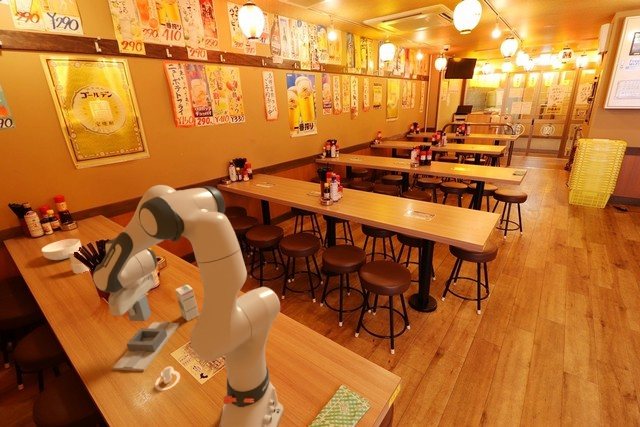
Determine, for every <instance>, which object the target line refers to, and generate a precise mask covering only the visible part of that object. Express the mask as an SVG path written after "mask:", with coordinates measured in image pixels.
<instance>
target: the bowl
mask: <svg viewBox="0 0 640 427" xmlns="http://www.w3.org/2000/svg"><path fill="white" fill-rule="evenodd" d="M79 247H81V248H82V243H81V240H80V239H78V238H67V239H61V240H58V241H55V242H51V243H49V244H47V245H45V246H43V247H42V248H41V250H40V251H41V252H42V255H43V256H44V258H46V259H48V260H51V261H52V260H53V261H62V260H66V259H70V257H69V254H68V253H69V252H71V251H78V250H79Z"/></svg>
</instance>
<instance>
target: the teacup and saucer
mask: <svg viewBox="0 0 640 427" xmlns="http://www.w3.org/2000/svg"><path fill="white" fill-rule="evenodd" d="M173 375H175V376H176V379H175V381H174V382H173V383H172V384H171V385H169V386H167V387H161V386H160V384H159V383H160V381H161V380H162V381H163V383H164V384H169V383H171V381H172V379H173V378H172V376H173ZM180 379H181V374H180V372H178V371H177V370H175V369H174V367H173V366H166V367H164V368H163V370H162V371H161V372H160V376H158V378H157V379H156V381H155V382H154V389H155V390H157V391H160V392H164V391H168V390H170V389H172V388H174V387H175V386H176V385H177V384H178V383H179V381H180Z"/></svg>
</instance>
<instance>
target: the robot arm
mask: <svg viewBox="0 0 640 427" xmlns="http://www.w3.org/2000/svg"><path fill="white" fill-rule="evenodd" d="M225 211H226V202H225V199H224V196H223V194H222V193H221V191H220V190H218V189H217V188H216V187H213V186H208V185H207V186H206V185H203V186H197V187H194V188H188V189H187V188H186V189H183V190H181V189H179V190H177V189H174V187H171V186H169V185H166V184H158V185H154V186H152V187H149V188H148V189H147V190H146V191H145V193H144V194H143V196H142V198H141V199H140V200H139V203H138V205H137V206H136V209H135V212H134V215H133V216H132V217H131V220H130V221H129V222H128V223H127V225H126V226H125V227H124V228H123V230H121V232H120V233H119V234H118V235H117V236H116V237H115V238H112V239H110V240H108V241H107V242H106V243H105V255H104V257H103V259H102V261H101V263H99V264H97V265H96V267H95V269H94V270H93V273H92V280H93V283H94V285H95V287H96V288H97V289H98V290H99V291H100V292H104V293H109V294H110V295H109V296H108V306H109V307H108V308H109V312H110V316H111V315H112V316H113V317H115V316H116V317H122V316H123V315H125V314H126V313H127V311H128V312H129V313H130V315H131V316H134V315H135V314H136V313H137V312H136V309H132V308H133V305H134V304H135V303H136V301H137V300H138V299H139V298H140V297H141V296H142V295H146V296H147V293H148V292H149V291H150V290H151V289H152V288H153V287H154V286H155V283H156V280H155V276H154V274H153V273H154V271H156V268H157V266H158V259H157V255H156V253H155V252H154V251H153V250H152V249H151V247H153V246H155V245H158V244H160V243H161V242H163V241H165V240H167V241H168V240H169V241H172V242H174V243H175V242H179V241H180V239H181V237H184V238H186V239H187V240H188V241H189V242H190V243H191V246H192V249H193V253H194V258H195V261H196V263H197V264H196V265H197V268H198V271H199V274H200V277H201V278H200V279H201V282H202V287H203V302H202V306H201V311H200V313H199V316H198V318H197V320H196V322H195V324H194V326H193V327H192V329H191V332H190V337H189V338H190V339H189V340H190V341H189V342H190V346H191V347H190V348H192V351H193V353H194V354H195V355H196V356H197V357H198V358H199V359H200V360H203V361H205V362H213V361H215V360H217V359H219V358H223V357H224V364H225V365H224V366H225V369H226V376H227V378H226V395H224V398H223V407H222V411H221V412H222V413H221V417H220V422H219V426H218V427H278V426H279V422H280V421H281V418H282V416H283V413H284V411H285V410H284V406H283V404H282V403H280V402H279V400H278V399H279V398H278V395H277V390H276V388H275V386H274V385H273V384H272V382H271V380H270V371H269V368H268V366H267V362H266V361H267V360H266V348H267V347H266V345H267V341H268V338H269V334H270V331H271V328H272V326H273V324H274V322H275V320H276V318H277V317H278V315H279V314H280V312H281V302H280V299H279V297H278V295H277V293H275V291H274V290H273V289H271V288H269V287H267V286H261V287H258V288H254V289H252V290H248V291H247V292H245V293H244V294H242V295H239V293H240V290H241V289H242V288H243V286H244V284H245V282H246V280H247V276H248V271H247V268H246V265H245V261H244V258H243V253H242V250H241V247H240V244H239V241H238V238H237V237H238V236H237V235H236V232H235V230H234V228H233V226H232V224H231V222H230V220H229V219H228V217H227V215H226V214H225V213H226V212H225ZM238 296H239V297H238Z"/></svg>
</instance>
